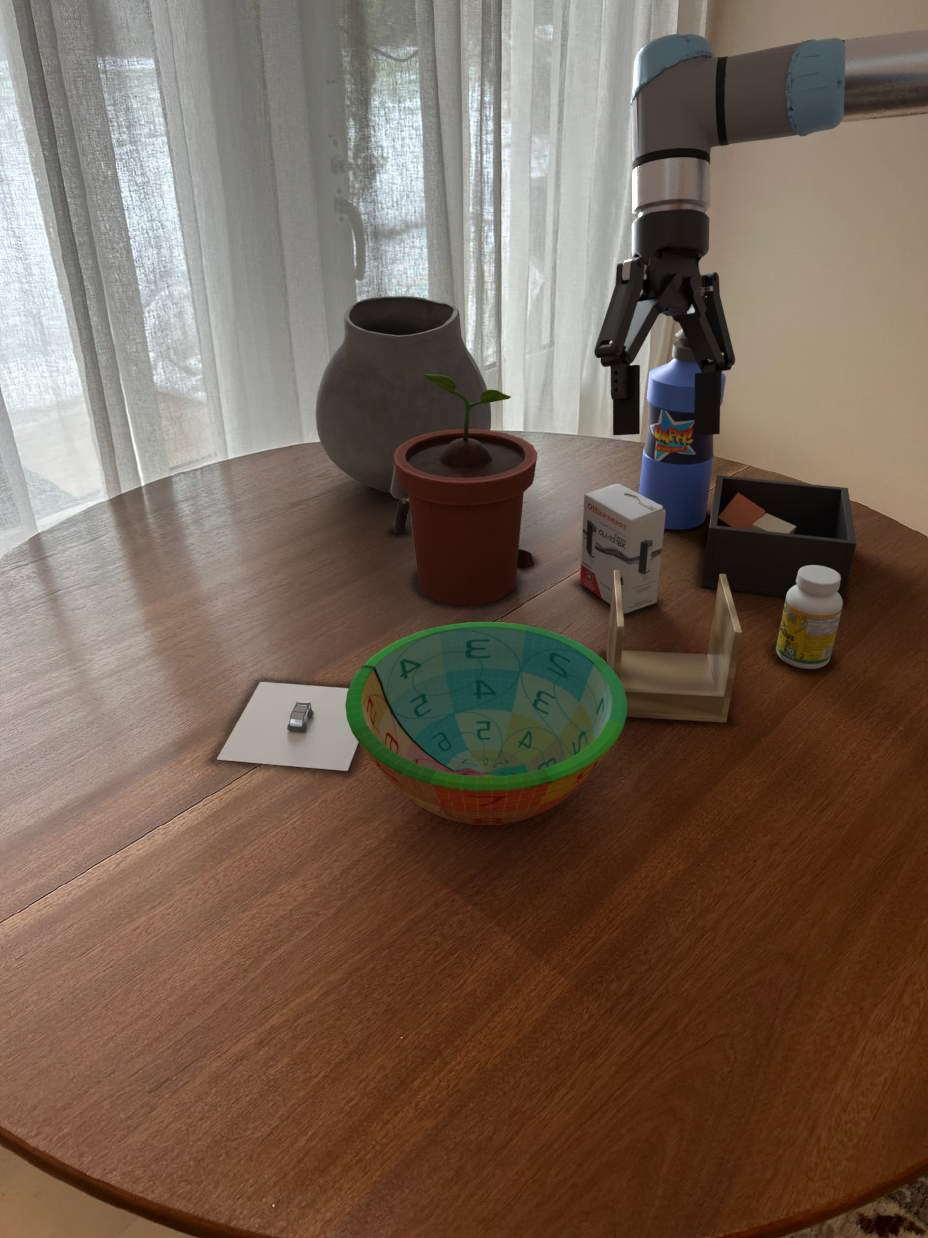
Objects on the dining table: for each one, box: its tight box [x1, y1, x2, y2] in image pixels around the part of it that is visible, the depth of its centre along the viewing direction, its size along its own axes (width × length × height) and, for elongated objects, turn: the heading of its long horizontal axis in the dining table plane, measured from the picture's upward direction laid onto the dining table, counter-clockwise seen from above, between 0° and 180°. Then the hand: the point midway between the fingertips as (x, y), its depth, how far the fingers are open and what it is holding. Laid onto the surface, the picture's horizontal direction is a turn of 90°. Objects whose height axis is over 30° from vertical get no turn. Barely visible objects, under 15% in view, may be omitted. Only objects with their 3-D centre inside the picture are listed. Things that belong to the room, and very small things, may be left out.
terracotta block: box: [717, 493, 765, 529], centre depth 114 cm, size 4×4×4 cm
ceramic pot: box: [315, 295, 492, 495], centre depth 128 cm, size 24×24×25 cm
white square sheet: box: [216, 681, 359, 772], centre depth 86 cm, size 12×12×2 cm
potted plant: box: [390, 374, 538, 606], centre depth 106 cm, size 18×22×25 cm
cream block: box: [751, 513, 796, 534], centre depth 112 cm, size 4×4×4 cm
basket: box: [700, 474, 857, 602], centre depth 111 cm, size 16×16×8 cm
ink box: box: [579, 483, 666, 615], centre depth 104 cm, size 8×5×12 cm, turn 31°
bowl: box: [345, 621, 628, 826], centre depth 76 cm, size 22×22×10 cm
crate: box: [606, 570, 743, 723], centre depth 89 cm, size 11×11×10 cm
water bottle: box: [638, 328, 727, 530], centre depth 118 cm, size 9×9×25 cm
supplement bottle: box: [775, 565, 844, 670], centre depth 93 cm, size 5×5×10 cm
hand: (668, 435), depth 95 cm, fingers open, 13 cm apart
